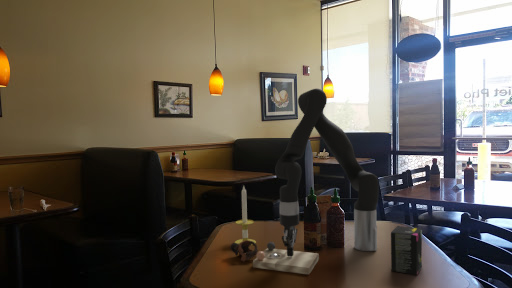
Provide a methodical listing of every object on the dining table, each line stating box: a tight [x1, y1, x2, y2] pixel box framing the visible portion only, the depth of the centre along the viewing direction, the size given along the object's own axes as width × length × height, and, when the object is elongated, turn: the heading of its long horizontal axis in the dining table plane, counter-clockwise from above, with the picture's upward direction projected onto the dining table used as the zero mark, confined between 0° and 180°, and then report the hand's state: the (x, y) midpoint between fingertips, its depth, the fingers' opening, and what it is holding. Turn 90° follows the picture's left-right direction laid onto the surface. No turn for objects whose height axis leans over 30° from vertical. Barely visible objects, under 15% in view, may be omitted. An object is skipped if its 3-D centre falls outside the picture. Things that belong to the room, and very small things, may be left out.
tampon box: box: [390, 225, 423, 276], centre depth 145 cm, size 11×9×15 cm
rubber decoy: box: [266, 241, 276, 250], centre depth 162 cm, size 3×3×3 cm
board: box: [252, 248, 320, 275], centre depth 153 cm, size 22×16×2 cm
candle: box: [234, 185, 257, 247], centre depth 180 cm, size 10×10×27 cm
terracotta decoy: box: [255, 250, 265, 260], centre depth 151 cm, size 3×3×3 cm
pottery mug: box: [229, 240, 259, 263], centre depth 160 cm, size 12×10×8 cm
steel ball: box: [270, 253, 278, 258], centre depth 155 cm, size 3×3×3 cm
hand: (290, 255), depth 153 cm, fingers closed
